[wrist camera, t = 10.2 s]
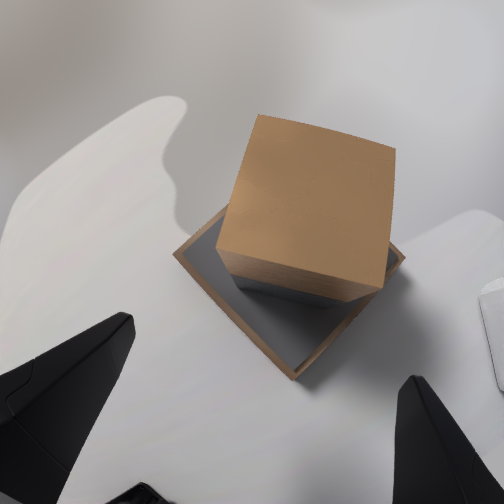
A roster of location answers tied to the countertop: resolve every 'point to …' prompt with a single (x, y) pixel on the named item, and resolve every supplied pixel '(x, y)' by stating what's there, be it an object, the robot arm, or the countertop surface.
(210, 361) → the countertop surface
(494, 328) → the photo printer
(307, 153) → the tan and grey block
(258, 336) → the walnut stand
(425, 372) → the countertop surface
